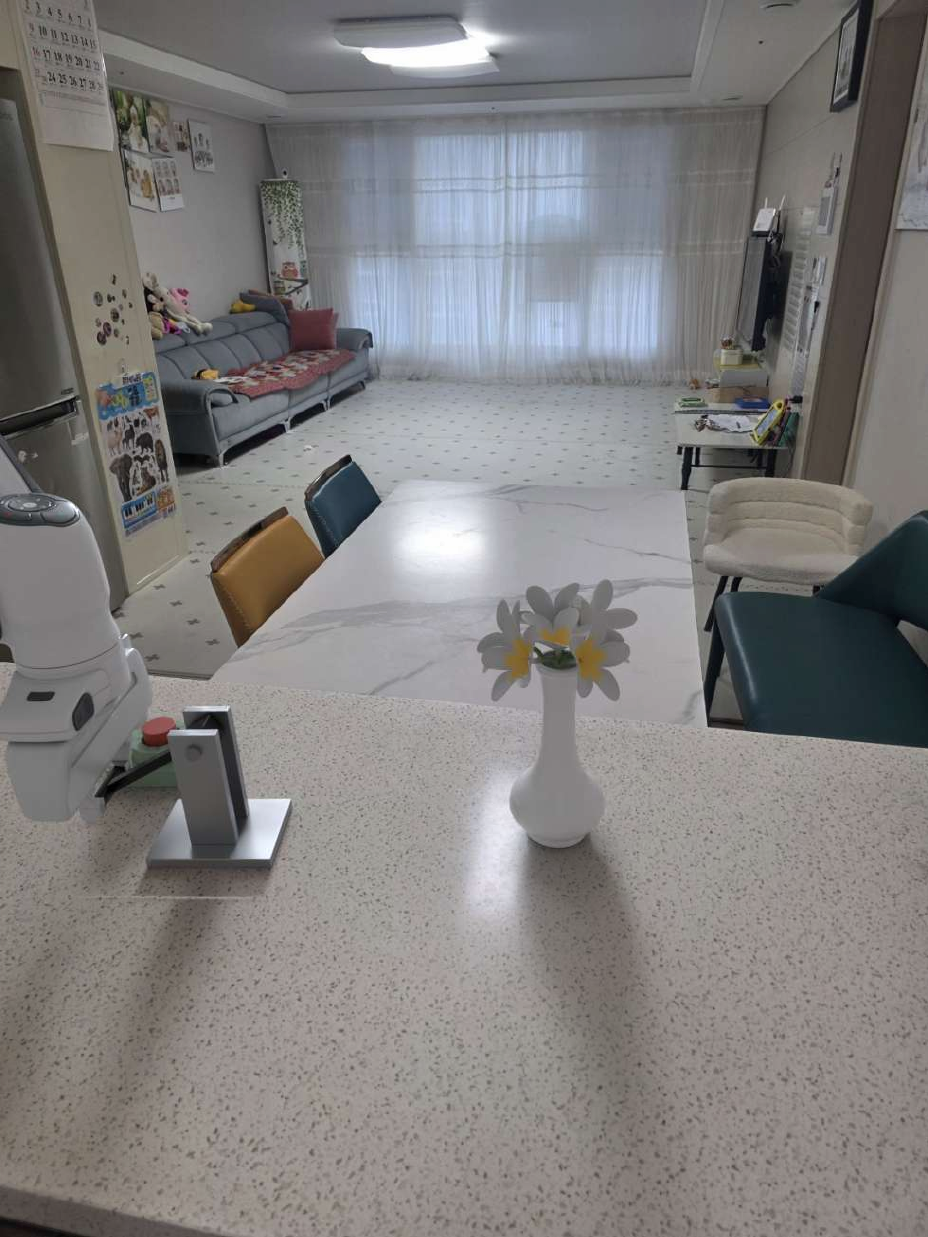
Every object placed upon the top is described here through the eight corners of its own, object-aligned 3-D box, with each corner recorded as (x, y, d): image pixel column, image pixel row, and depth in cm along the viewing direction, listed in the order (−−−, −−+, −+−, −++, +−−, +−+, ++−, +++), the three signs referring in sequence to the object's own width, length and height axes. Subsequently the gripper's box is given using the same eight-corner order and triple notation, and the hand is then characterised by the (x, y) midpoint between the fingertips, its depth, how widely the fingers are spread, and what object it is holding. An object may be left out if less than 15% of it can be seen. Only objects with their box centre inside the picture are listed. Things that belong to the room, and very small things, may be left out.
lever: (99, 817, 78) (82, 799, 77) (121, 784, 83) (105, 767, 82) (214, 755, 75) (197, 736, 74) (230, 724, 79) (214, 706, 78)
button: (139, 748, 90) (136, 734, 89) (151, 729, 93) (148, 716, 93) (171, 748, 90) (168, 734, 89) (182, 729, 93) (180, 716, 92)
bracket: (147, 869, 78) (115, 749, 72) (179, 807, 86) (153, 695, 80) (271, 869, 78) (250, 748, 72) (292, 807, 86) (275, 694, 80)
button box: (109, 787, 90) (101, 757, 88) (138, 745, 97) (130, 716, 95) (199, 787, 89) (193, 756, 88) (221, 744, 97) (216, 715, 95)
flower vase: (635, 781, 88) (652, 565, 77) (598, 904, 73) (612, 655, 62) (519, 759, 92) (519, 550, 81) (460, 870, 77) (450, 631, 66)
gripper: (92, 622, 84) (121, 735, 90) (-22, 736, 65) (24, 870, 71) (153, 621, 83) (178, 735, 89) (56, 736, 65) (96, 870, 71)
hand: (109, 796), depth 80 cm, fingers closed on lever, 5 cm apart
